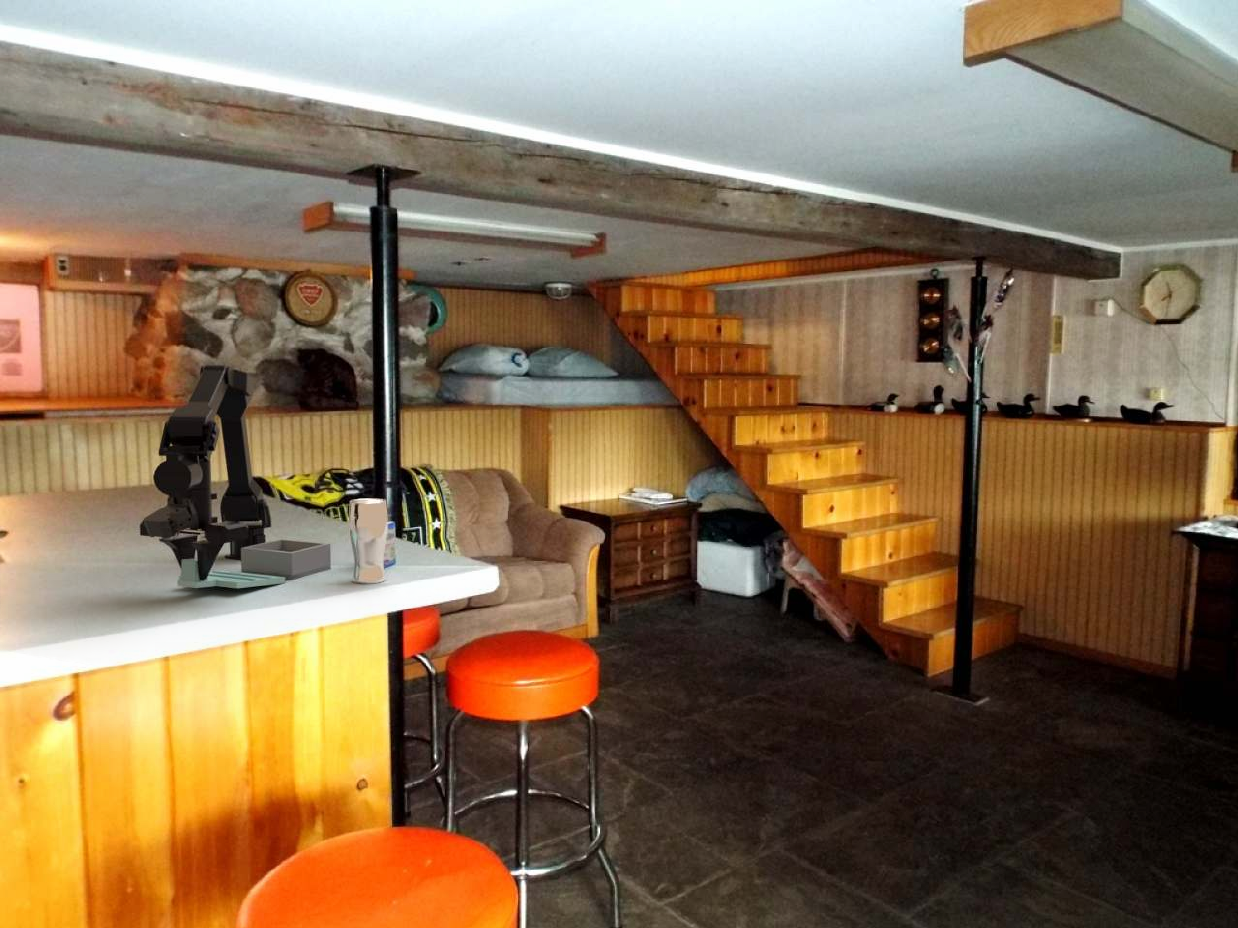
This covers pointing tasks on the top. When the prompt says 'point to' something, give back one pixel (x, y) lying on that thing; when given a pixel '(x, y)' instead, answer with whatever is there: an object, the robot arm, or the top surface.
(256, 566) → the tub
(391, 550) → the medicine box
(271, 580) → the lid
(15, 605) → the top surface
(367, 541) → the beer glass
